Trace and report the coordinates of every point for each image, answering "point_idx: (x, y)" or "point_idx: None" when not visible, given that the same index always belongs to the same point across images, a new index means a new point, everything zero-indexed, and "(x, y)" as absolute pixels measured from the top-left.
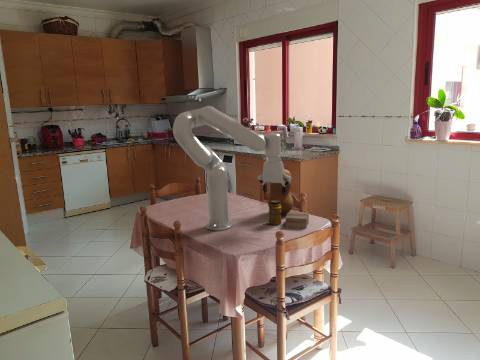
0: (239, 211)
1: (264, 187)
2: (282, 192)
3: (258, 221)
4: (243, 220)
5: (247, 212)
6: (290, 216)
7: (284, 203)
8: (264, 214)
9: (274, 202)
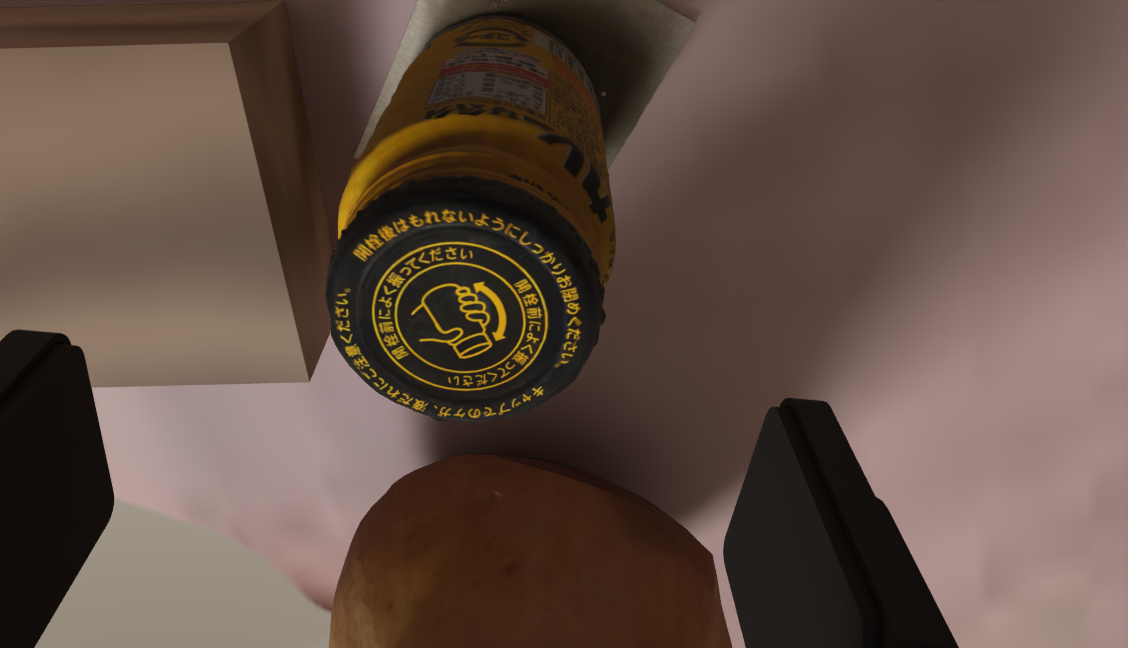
0: (1099, 485)
1: (864, 569)
2: (12, 373)
3: (789, 159)
4: (1042, 152)
5: (985, 471)
6: (172, 139)
7: (414, 550)
8: (742, 446)
9: (438, 203)
